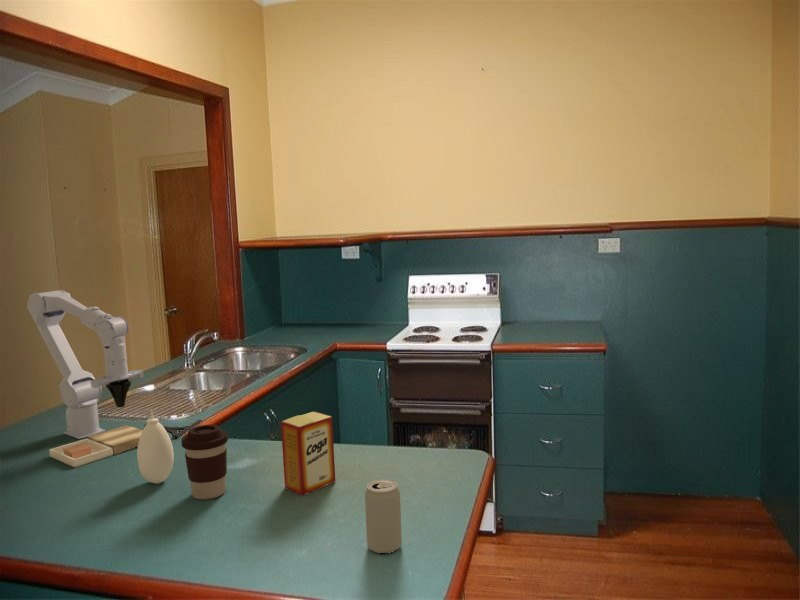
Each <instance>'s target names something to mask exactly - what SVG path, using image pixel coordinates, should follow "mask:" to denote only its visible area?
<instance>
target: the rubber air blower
mask: <svg viewBox="0 0 800 600" xmlns="http://www.w3.org/2000/svg"><path fill="white" fill-rule="evenodd" d="M146 423H147V424H146ZM145 424H146V426H145V427H144V426H143V429H142V430H143V431H142V433H141V436H140V439H139V443H138V447H137V448H136V449H137V451H136V457H137V459H136V460H137V465H138V468H139V471H140V473H141V475H142V477H143V478H144V479H145V480H146V481H149V482H150V483H153V484H156V485H157V484H161V483H162V482H165V480H166V478H168V477H169V476H170V475H171V472H172V470H173V467H174V462H175V461H174V459H175V458H174V457H175V456H174V455H175V454H174V453H175V452H174V448H173V447H174V446H173V443H172V440H171V438H170V436H169V434H168V431H166V430H165V428H164V427H163V426H164V425H163V424H162V423H161V422H160V420H159V419H158V418H157V417H154V411H153V409H152V408H151V409H150V418H149V419H147V420H146V422H145Z"/></svg>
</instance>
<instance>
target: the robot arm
mask: <svg viewBox="0 0 800 600" xmlns="http://www.w3.org/2000/svg"><path fill="white" fill-rule="evenodd" d="M26 309H27V311H28V313H29V314H30V316H31V318H32V320H33V322H34V324H35V325H36V327H37V330H38V331H39V334H40V336H41V337H42V339H43V341H44V342H45V346H46V347H47V349H48V351H49V353H50V355H51V357H52V358H53V361H54V362H55V364H56V366H57V368H58V370H59V371H60V373H61V375H62V377H63V379H62V380H61V382H60V384H59V385H58V389H59V391H60V394H61V399H62V402H63V404H65V406H67V408H66V411H65V421H66V430H67V431H64V432H63V433H64V435H67V436H70V437H73V438H75V439H78V440H82V439H86V438H88V436H91V435H95V434H98V433H102V432H105V431H106V429H104V428H101V427H100V423H99V421H100V420H99V412H98V411H99V410H98V402H99V400H100V399H99V398H101V396H102V394H103V388H102V386H105V387H106V388H107V390H108V391H109V393H110V394H111V396H112V398H113V401H114V403H115V406H116V407H117V408H123V407H125V405H126V404H125V403H126V399H127V394H128V392H129V389H130V387H131V385H132V382H131V380H133V379H136V378H144V370H142V369H137V370H129V368H128V356H127V347H126V345H127V344H126V336H127V335H128V333H129V329H130V326H129V323H128V321H127V320H126V319H125V318H124V317H123V316H121V315H120V316H116V317H115V316H112V314H110V313H107V312H104V311H103V310H101V309H100V307H98V306H89V307H87V306H86V305H84V304H82V303H81V302H79V301H77V300H76V299H74V298H73V297H72V296H71V293H70V292H67V291H65V290H64V289H58V290H52V291H46V292H33V293H31V294H30V295H29V296H28V301H27V307H26ZM66 313H67V314H70V315H71V316H74V317H77V318H79V319H80V322H81V324H82V325H84V326H86V327H87V328H89V329H91V330H93V331H94V332H96V333H97V336H98V338H99V339H100V343H101V345H102V346H103V353H104V354H103V355H104V364H105V376H101V377H98V378H95V376H94V374H93V373H91V372H89V371H86V370H84V369H83V368H82V366H81V364H80V363H79V361H78V359H77V356H76V355H75V353H74V351H73V349H72V348H71V345H70V343H69V342H68V340H67V339H68V338H66V336H65V334H64V332H63V330H62V328H61V327H60V321H62V320H63V319H64V317H65V316H66V315H65V314H66Z"/></svg>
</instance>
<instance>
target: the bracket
mask: <svg viewBox="0 0 800 600" xmlns="http://www.w3.org/2000/svg"><path fill="white" fill-rule="evenodd" d="M201 421H202V422H203V420H202V419H198V420H196V421H195V422H193V423H191V424H192V425H190V426H185V427H178V426H166V425H162V426H163V427H164V428H165V430H166V432H168V431H170V432H169V433H171V432H172V433H173V434H172V433H171V434H172V439H173V438H174V437H176V439H177V438H178V439H180V438H181V437H180V436H182V435H183V434H185V433H186V432H187V431H188V430H190V429H191V428H193V427H194V426H196V425H197V424H199V423H200V422H201ZM146 424H147V423H146V422H145V424H144V426H143V428H144V427H145V426H146ZM177 430H182V431H178V432H179V433H177ZM186 434H187V433H186ZM186 434H185V435H186ZM183 436H184V435H183ZM183 436H182V437H183ZM179 437H180V438H179ZM174 439H175V438H174Z"/></svg>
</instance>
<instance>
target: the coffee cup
mask: <svg viewBox="0 0 800 600" xmlns="http://www.w3.org/2000/svg"><path fill="white" fill-rule="evenodd" d="M228 441H229V434H228V431H226V430H224V429H221V427H220V426H219V425H217V424H204V425H203V424H201V425H198V426H197V427H194V428H192V429H190V430H189V431H188V433H186V434H185V435H183V436H182V437H181V442H180V443H181V446H182V448H183V449H185V453H184V455H185V456H184V457H185V464H186V469H187V476H188V479H189V482H190V488H191V494H192V497H193V498H195V499H197V500H205V501H206V500H211V499H216V498H218V497H220V496H222V495H224V493H225V492H226V491H227V488H226V485H227V483H226V482H227V480H226V478H227V477H226V476H227V470H228V468H227V467H228V466H227V463H228V462H227V461H228V460H227V459H228V458H227V455H228V454H227V447H226V443H228Z"/></svg>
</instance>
